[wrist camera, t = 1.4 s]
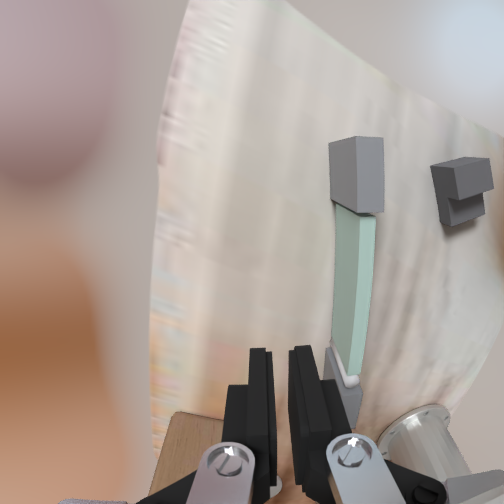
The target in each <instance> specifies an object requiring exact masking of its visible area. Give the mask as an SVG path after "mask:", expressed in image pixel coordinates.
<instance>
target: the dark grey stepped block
mask: <svg viewBox="0 0 504 504" xmlns="http://www.w3.org/2000/svg"><path fill="white" fill-rule="evenodd" d="M430 168H431V172H432V177H433V182H434V187H435V193H436V198H437V204H438V210H439V217H440V222H441V223H444V224H446V225H449V226H451V227H452V226H455V225H458V224H460V223H463V222H466V221H468V220H471V219H474V218H476V217H479V216H482V215H484V214H485V209H484V200H483V192H486V191H489V190H492V189H494V186H493V179H492V172H491V166H490V161H489V158H475V157H463V158H459V159H455V160H451V161H447V162H443V163H439V164H435V165H431V166H430Z"/></svg>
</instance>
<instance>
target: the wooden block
mask: <svg viewBox="0 0 504 504" xmlns="http://www.w3.org/2000/svg"><path fill="white" fill-rule="evenodd" d="M223 423H224V421H223V420H217V419H212V418H207V417H202V416H197V415H193V414H188V413H184V412H175V414H174V415H173V416H172V417H171V420H170V424H169V427H168V430H167V433H166V437H165V440H164V443H163V447H162V450H161V453H160V457H159V460H158V463H157V467H156V470H155V474H154V477H153V481H152V484H151V487H150V491H149V494H148V496H150V495H152V494H154V493H156V492H158V491H160V490H162V489H163V488H165V487H167V486H169V485H171V484H173V483H175V482H176V481H178V480H180V479H182V478H183V477H185V476H187V475H189V474H190V473H192V472H194V471H195V470H197V469H198V466H199V463H200V460H201V457H202V456H203V454H204V452H205V451H206V450H207V449H208V448H210V447H211V446H213V445H215V444H218V443H221V439H222V431H223Z"/></svg>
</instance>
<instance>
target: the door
mask: <svg viewBox="0 0 504 504" xmlns="http://www.w3.org/2000/svg"><path fill="white" fill-rule="evenodd" d="M375 223H376V217H375V216H373V215H371V214H369V213H357V212H355V211H353V210H351V209H349V208H347V207H345V206H344V205H342V204H340V203H338V204H336V248H335V281H334V302H333V319H332V333H331V335H332V339H331V340H330V345H331V348H332V350H333V353H334V356H335V359H336V361H337V364H338V367H339V370H340V373H341V375H342V378H343V381H344V384H345V386H346V387H347V388H354V387H356V386H358V384H359V383H360V379H359V377H358V374H360V372H361V366H362V360H363V354H364V347H365V340H366V333H367V326H368V317H369V309H370V299H371V289H372V277H373V264H374V247H375Z"/></svg>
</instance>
